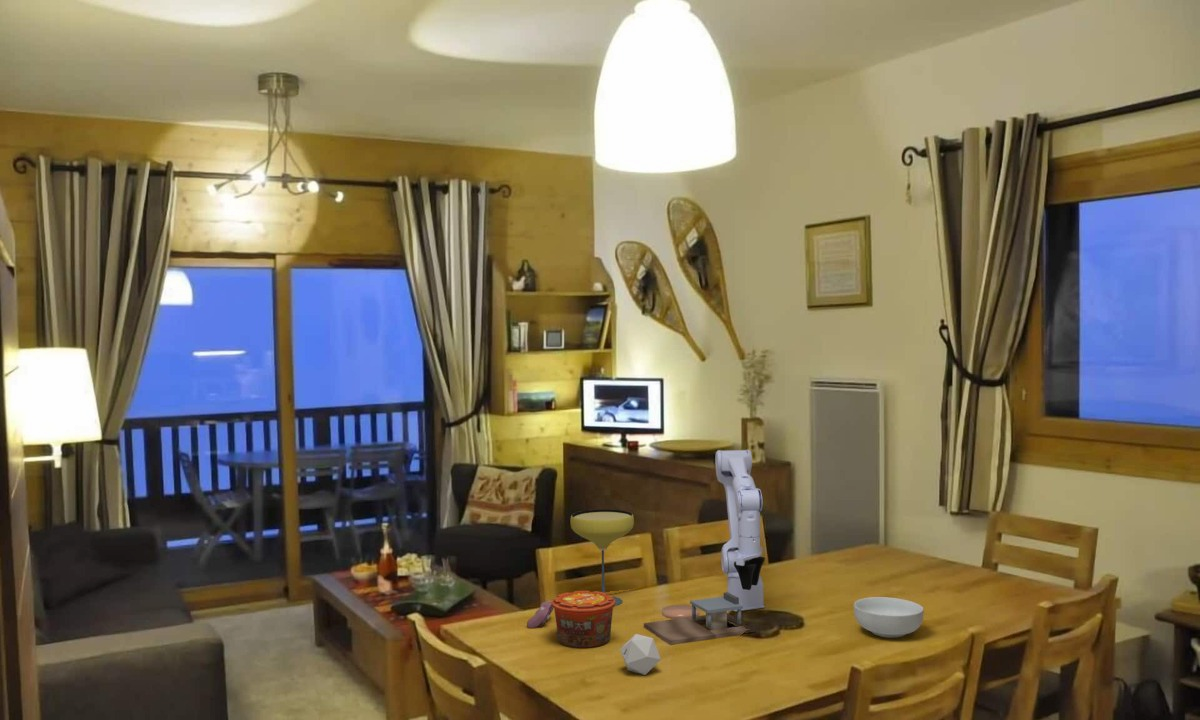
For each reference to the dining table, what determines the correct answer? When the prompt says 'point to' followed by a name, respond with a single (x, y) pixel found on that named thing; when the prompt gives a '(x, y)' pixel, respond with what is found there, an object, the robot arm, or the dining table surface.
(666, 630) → the puzzle board
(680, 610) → the dish
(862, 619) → the cereal bowl
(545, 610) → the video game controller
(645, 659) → the die
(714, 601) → the grey miniature stool
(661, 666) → the dining table surface
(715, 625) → the block
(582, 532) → the cocktail glass
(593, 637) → the food container
